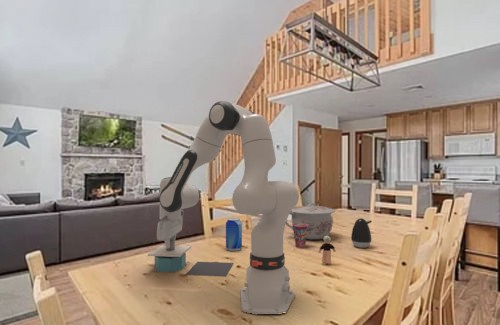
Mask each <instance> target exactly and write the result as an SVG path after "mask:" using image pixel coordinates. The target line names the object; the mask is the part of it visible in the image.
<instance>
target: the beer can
mask: <svg viewBox="0 0 500 325" xmlns="http://www.w3.org/2000/svg"><path fill="white" fill-rule="evenodd" d="M242 224H243V223H242V221H241V218H239V217H229V218H227V219H226V223H225V248H226V249H227V251H229V252H238V251H241V249H242V248H243V229H242V228H243V226H242Z"/></svg>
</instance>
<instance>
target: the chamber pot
mask: <svg viewBox="0 0 500 325" xmlns="http://www.w3.org/2000/svg"><path fill="white" fill-rule="evenodd" d="M335 212H336V209H334V208H331V207H326V206H321V205H317V204H316V203H313V202H311V203H309V204H308V205H301V206H295V207H294V208H293V209H292V210H291V212H290V214H289V216H291V225H290V224H289V222H288V220H287V221H286V224H285V226H287V227H289V228H290V229H291V230H292V231H293V225H292V224H295V223H305V224H310V225H308V228H307V236H306V240H309V241H319V240H324V239H323V238H324V237H325V236H329V235H330V233H331V232H332V229H333V224H334V218H333V216H332V214H333V213H335Z"/></svg>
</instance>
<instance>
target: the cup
mask: <svg viewBox="0 0 500 325" xmlns="http://www.w3.org/2000/svg"><path fill="white" fill-rule="evenodd" d="M308 225H310V224H305V223H295V224H292V223H291V226H293V230H292V231H293V236H294V238H293V239H294V244H295V248H297V249H304V248H306V242H307V239H306V236H307V228H308Z"/></svg>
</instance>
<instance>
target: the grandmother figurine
mask: <svg viewBox="0 0 500 325" xmlns="http://www.w3.org/2000/svg"><path fill="white" fill-rule="evenodd" d="M322 240H323V241H324V243H323V244H321V246H320V247H319V249H318V250H317V251H318V253H319V254H320V253H321V251H322V257H321V259H322V260H321V262H322V263H321V265H322V266H326V265H327V266H331V265H333V264H332V251H331V250H333V252H335V253H336V252H337V251H336V247H335V246H334V244H331V241H332V238H331V237H330V236H329V235H328V236H325V237H324V238H323V239H322Z"/></svg>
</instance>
